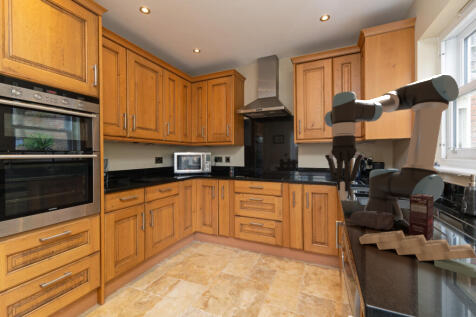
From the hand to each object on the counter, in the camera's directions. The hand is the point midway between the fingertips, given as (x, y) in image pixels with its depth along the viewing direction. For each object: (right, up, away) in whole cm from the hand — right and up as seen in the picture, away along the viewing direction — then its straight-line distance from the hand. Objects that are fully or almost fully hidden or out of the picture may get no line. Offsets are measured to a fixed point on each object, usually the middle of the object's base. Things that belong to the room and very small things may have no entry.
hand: (343, 199), depth 73 cm
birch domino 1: (+2, -12, -7) cm, 14 cm away
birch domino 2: (+5, -12, -11) cm, 17 cm away
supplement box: (+22, -13, -7) cm, 27 cm away
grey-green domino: (+14, -12, -20) cm, 27 cm away
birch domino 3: (+9, -12, -14) cm, 20 cm away
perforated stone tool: (+15, -13, +7) cm, 21 cm away
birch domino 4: (+12, -12, -17) cm, 24 cm away
